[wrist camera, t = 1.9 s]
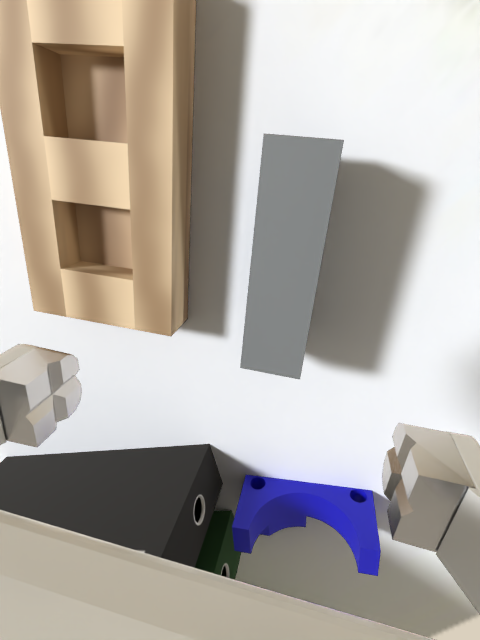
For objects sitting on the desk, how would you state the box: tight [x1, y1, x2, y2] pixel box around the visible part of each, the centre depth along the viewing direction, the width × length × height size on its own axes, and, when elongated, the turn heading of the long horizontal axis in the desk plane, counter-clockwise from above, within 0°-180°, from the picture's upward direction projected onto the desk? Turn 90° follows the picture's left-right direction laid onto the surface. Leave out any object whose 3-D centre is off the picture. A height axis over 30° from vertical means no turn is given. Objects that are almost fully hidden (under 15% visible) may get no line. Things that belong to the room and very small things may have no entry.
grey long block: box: [240, 134, 344, 379], centre depth 23 cm, size 4×14×6 cm, turn 175°
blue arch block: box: [232, 475, 381, 576], centre depth 33 cm, size 12×4×6 cm, turn 94°
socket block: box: [0, 0, 196, 336], centre depth 25 cm, size 12×22×4 cm, turn 175°
